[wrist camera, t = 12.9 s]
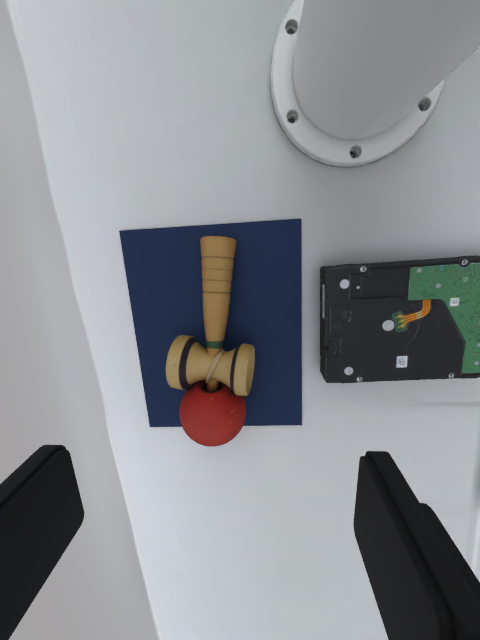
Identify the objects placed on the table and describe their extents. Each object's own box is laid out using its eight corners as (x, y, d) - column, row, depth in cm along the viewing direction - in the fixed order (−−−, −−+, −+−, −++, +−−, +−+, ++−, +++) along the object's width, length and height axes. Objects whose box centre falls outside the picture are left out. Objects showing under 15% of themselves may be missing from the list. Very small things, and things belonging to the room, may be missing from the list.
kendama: (172, 242, 26) (171, 426, 28) (162, 228, 19) (161, 466, 22) (254, 247, 27) (247, 423, 29) (269, 234, 20) (259, 461, 22)
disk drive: (319, 372, 27) (480, 364, 26) (325, 386, 24) (506, 378, 23) (317, 265, 25) (496, 251, 23) (324, 268, 22) (527, 251, 21)
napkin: (120, 231, 25) (119, 230, 25) (300, 219, 24) (301, 218, 23) (150, 425, 30) (149, 427, 29) (301, 423, 29) (301, 425, 28)
